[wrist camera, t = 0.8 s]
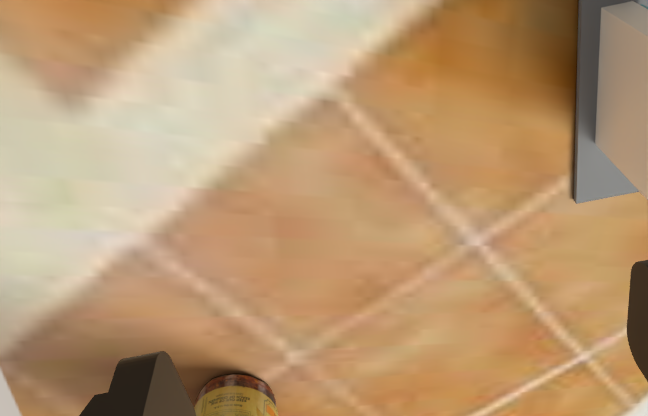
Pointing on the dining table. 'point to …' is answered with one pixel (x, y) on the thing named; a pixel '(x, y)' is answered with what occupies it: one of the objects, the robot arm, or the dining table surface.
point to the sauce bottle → (236, 397)
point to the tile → (624, 91)
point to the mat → (593, 113)
